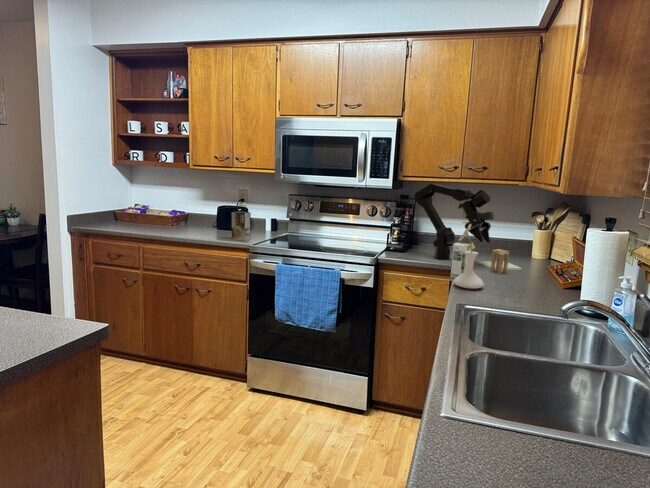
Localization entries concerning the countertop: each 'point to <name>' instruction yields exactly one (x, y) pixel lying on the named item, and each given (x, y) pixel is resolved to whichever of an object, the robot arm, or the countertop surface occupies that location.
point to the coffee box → (241, 226)
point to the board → (510, 267)
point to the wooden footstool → (499, 261)
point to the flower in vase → (469, 268)
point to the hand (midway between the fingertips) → (485, 242)
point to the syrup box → (459, 259)
